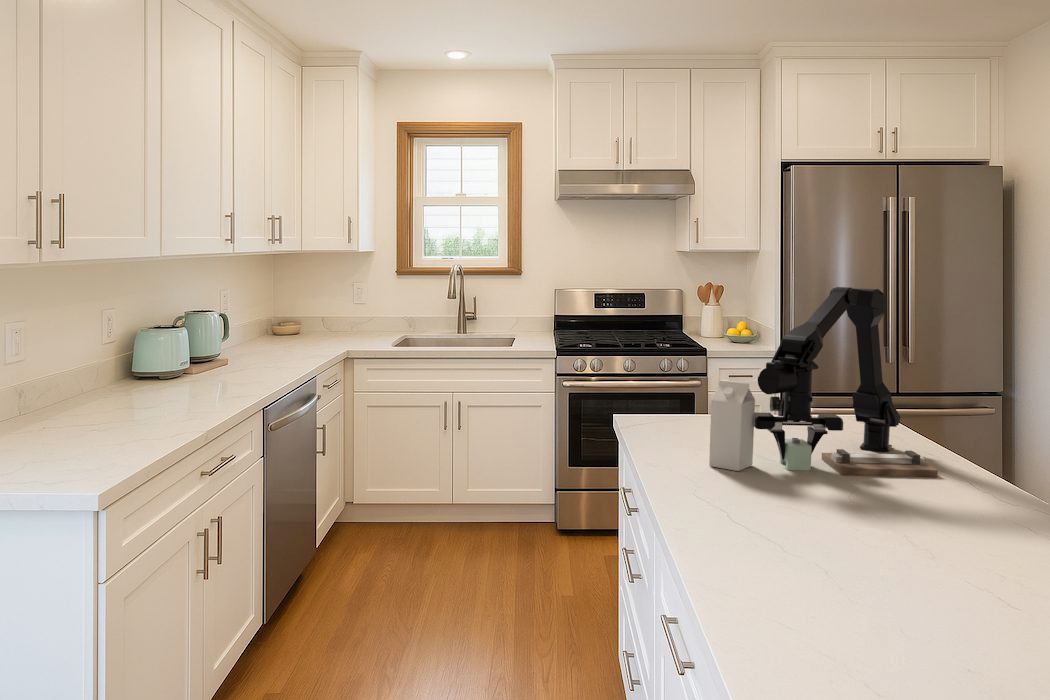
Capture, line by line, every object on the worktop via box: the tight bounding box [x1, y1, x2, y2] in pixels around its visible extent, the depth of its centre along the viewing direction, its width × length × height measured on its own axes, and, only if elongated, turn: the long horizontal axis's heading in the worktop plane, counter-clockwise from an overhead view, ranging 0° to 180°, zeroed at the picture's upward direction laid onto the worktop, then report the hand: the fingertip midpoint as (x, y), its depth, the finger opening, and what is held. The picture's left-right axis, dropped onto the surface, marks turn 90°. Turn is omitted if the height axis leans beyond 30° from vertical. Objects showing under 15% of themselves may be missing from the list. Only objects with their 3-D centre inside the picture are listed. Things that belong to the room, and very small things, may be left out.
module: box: [779, 437, 812, 471], centre depth 180 cm, size 5×7×6 cm
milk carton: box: [709, 380, 756, 472], centre depth 179 cm, size 7×7×19 cm
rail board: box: [821, 448, 939, 478], centre depth 179 cm, size 20×14×4 cm
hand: (795, 459), depth 180 cm, fingers closed on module, 5 cm apart
